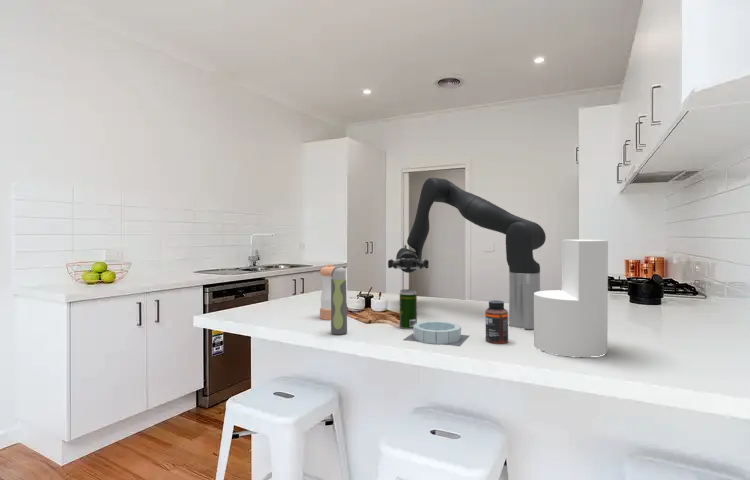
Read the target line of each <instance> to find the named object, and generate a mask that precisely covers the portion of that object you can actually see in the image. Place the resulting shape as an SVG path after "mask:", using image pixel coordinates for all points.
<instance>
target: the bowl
mask: <svg viewBox="0 0 750 480" xmlns="http://www.w3.org/2000/svg"><path fill="white" fill-rule="evenodd" d="M412 332H413V333H412V334H413V337H414V339H415V340H417V341H420V342H419V343H422V344H423V343H424V344H432V345H443V344H448V343H449V344H450V343H454V342H458V341H459V340H460V339H461V335H462V326H460V324H457V323H455V322H452V321H441V320H429V321H421V322H417V323H416V324H415V325H413V329H412Z"/></svg>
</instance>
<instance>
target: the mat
mask: <svg viewBox="0 0 750 480" xmlns="http://www.w3.org/2000/svg"><path fill="white" fill-rule="evenodd" d="M469 337H470V335H469V334H468V335H467V334H461V339H460V340H459V341H458V342H454V343H450V344H449V343H448V344H442V345H443V346H453V347H461V346H462V345H463V344H464V343H465V341H467V340H468V338H469ZM402 341H407V342H408V341H409V342H416V343H417V342H418V343H421V342H420V341H417V340H415V339H414V337H413V333H411V334H410V335H408V336H406V337H405V338H403V339H402Z"/></svg>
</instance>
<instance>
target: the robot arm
mask: <svg viewBox="0 0 750 480" xmlns="http://www.w3.org/2000/svg"><path fill="white" fill-rule="evenodd" d="M434 203H443V204H445V205H446V204H447V205H450V206H452V207H453V208H456V209H457V210H458V212H459V213H460V215H461V216H462V218H464V219H465V220H467V221H469V222H470V223H472V224H474V225H476V226H478V227H480V228H483V229H487V230H490V231H494V232H496V233H497V232H498V233H501V234H503V235H505V255H506V262H507V265H508V270H509V271H508V274H509V275H508V277H509V279H508V281H509V283H508V285H509V286H508V287H509V288H508V291H509V292H508V293H509V295H508V297H509V298H508V300H509V301H508V304H509V307H508V309H509V310H508V311H509V312H508V315H509V316H508V326H510V327H513V328H516V329H517V328H518V329H524V330H534V293H535V292H538V291H541V265H540V263H539V262H538V261H536V260H535V259H534V252H533V251H535V250H537V249H539V248H541V247H542V246H544V244H545V242H546V238H547V236H546V232H545V230H544V228H543V227H541V225H540V224H538V223H537V222H535V221H532V220H528V219H526V218H524V217H520V216H517V215H515V214H512V213H511V212H509V211H507V210H506V209H504V208H502V207H501V206H498V205H496V204H494V203H492V202H491V201H489V200H487V199H484V198H482V197H480V196H478V195H476V194H474V193H471V192H469V191H466V190H464V189H462V188H461V187H459V186H457V185H456V184H454V183H453V182H452V181H450V180H448V179H446V178H439V177H429V178H427V179H426V180H425V181H424V183H423V184H422V188H421V191H420V196H419V200H418V205H417V209H416V213H415V214H416V215H415V217H414V222H413V224H412V227H411V230H410V232H409V234H408V237H407V240H406V243H407V245H408V246H409V247H410V248H412V249H413V250H411V249H408V248H406V247H402V248H400V249H399V250H398V251H397V253H396V257H395V259H396V260H395V259H392V258H391V259H389V260H387V268H388V269H392V268H393V269H399V270H401V271H402V272H403V273H408V274H410V273H414V272H415V271H416V270H422V269H429V266H430V265H429V264H430V263H429V260H428V259H423V260H422V256H423V255H422V254H423V250H424V247H425V246H424V245H425V242H426V240H427V237H428V236H429V233H430V211H431V208H432V206H433V204H434Z"/></svg>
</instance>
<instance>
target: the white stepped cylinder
mask: <svg viewBox="0 0 750 480" xmlns="http://www.w3.org/2000/svg"><path fill="white" fill-rule="evenodd" d="M608 268H609V240H607V239H561V290H560V289H557V290H556V289H553V290H552V289H551V290H550V289H549V290H540V291H538V292H535V293H534V329H533V347H534V346H535V347H536V348H537V349H536V350H538V349H540V350H542V351H546V352H549V353H553V354H558V355H565V356H575V357H591V356H600V355H603V354H605V353H607V354H608V328H609V326H608V325H609V323H608V321H609V320H608V316H609V314H608V311H609V309H608V308H609V307H608V305H609V303H608V302H609V301H608V300H609V299H608V297H609V296H608V293H609V292H608V289H609V287H608V285H609V284H608V283H609V281H608V280H609V269H608ZM535 347H534V348H535ZM540 350H539V351H540ZM542 351H541V352H542ZM553 354H552V355H553Z"/></svg>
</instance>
